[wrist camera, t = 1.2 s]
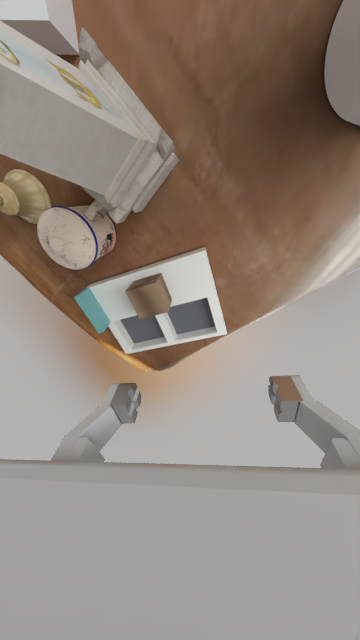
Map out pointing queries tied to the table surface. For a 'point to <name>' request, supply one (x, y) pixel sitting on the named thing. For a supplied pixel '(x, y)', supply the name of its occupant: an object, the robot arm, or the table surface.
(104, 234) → the teacup with lid
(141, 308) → the walnut block
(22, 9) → the white cube
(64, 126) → the miniature monument
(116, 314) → the board
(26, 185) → the hand bell
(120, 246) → the table surface
